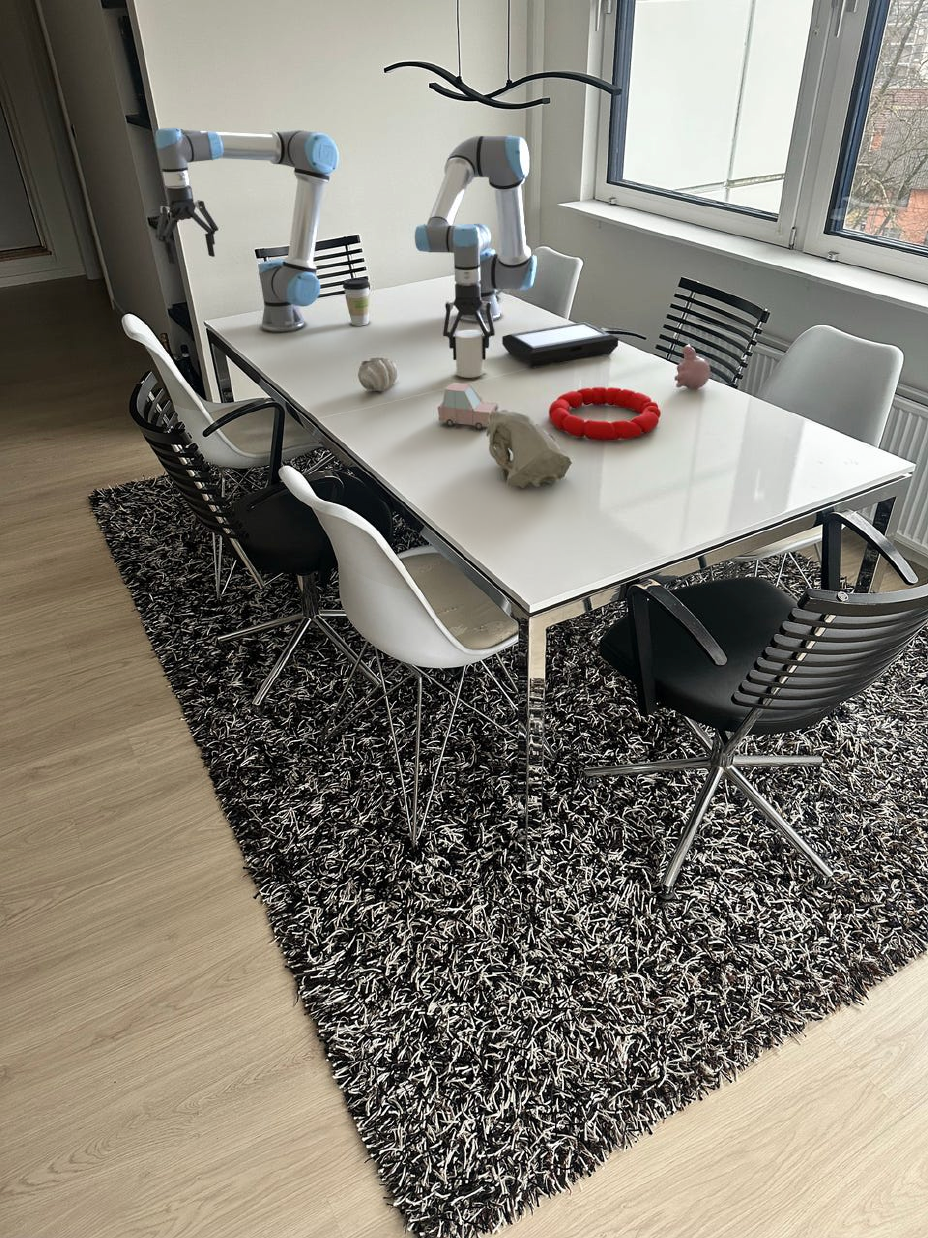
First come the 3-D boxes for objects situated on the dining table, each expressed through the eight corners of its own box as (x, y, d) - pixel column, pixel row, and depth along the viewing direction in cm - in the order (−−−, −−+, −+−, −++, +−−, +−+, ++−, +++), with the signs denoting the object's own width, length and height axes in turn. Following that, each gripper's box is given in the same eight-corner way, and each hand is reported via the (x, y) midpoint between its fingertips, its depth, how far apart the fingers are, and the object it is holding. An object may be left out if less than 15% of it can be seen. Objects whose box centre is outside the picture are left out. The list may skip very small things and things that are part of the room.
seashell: (350, 390, 269) (347, 357, 264) (395, 380, 275) (392, 348, 270) (364, 400, 262) (360, 367, 256) (409, 390, 268) (407, 357, 262)
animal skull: (496, 517, 219) (521, 479, 201) (463, 429, 225) (484, 384, 207) (557, 503, 225) (586, 465, 206) (523, 417, 231) (549, 373, 212)
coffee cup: (372, 326, 323) (368, 283, 314) (345, 327, 323) (340, 284, 315) (374, 318, 331) (371, 276, 322) (348, 319, 331) (344, 277, 323)
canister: (458, 378, 273) (457, 338, 266) (454, 369, 280) (453, 330, 273) (485, 376, 274) (484, 336, 267) (481, 367, 281) (480, 328, 274)
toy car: (488, 432, 240) (488, 396, 234) (436, 426, 244) (434, 390, 239) (499, 419, 247) (499, 384, 241) (448, 413, 252) (447, 379, 246)
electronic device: (530, 350, 276) (502, 333, 291) (530, 370, 279) (502, 352, 294) (618, 335, 286) (586, 319, 301) (617, 354, 290) (585, 338, 305)
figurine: (665, 387, 264) (669, 347, 257) (693, 380, 268) (698, 340, 261) (686, 396, 257) (690, 355, 250) (714, 388, 262) (720, 348, 255)
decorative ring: (589, 435, 224) (684, 402, 234) (527, 398, 247) (617, 369, 256) (589, 461, 229) (683, 427, 238) (529, 422, 251) (617, 393, 260)
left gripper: (144, 192, 261) (160, 268, 273) (221, 181, 274) (233, 254, 286) (134, 190, 266) (150, 264, 278) (209, 179, 279) (222, 251, 291)
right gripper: (430, 286, 259) (434, 362, 272) (503, 285, 258) (503, 362, 271) (432, 279, 266) (436, 354, 278) (503, 278, 264) (504, 354, 277)
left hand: (192, 259), depth 282 cm, fingers open, 13 cm apart
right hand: (469, 358), depth 275 cm, fingers closed on canister, 8 cm apart
